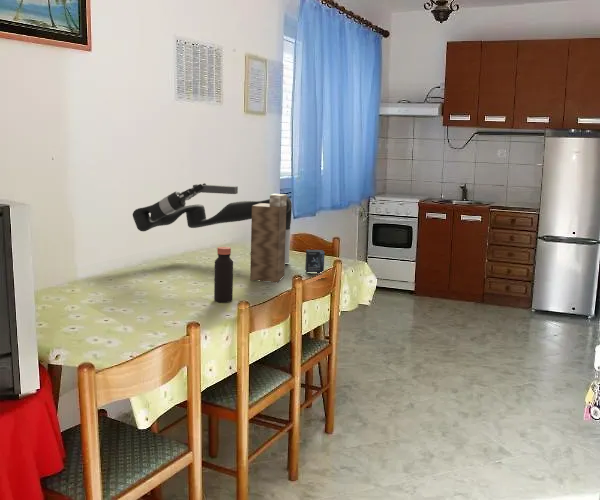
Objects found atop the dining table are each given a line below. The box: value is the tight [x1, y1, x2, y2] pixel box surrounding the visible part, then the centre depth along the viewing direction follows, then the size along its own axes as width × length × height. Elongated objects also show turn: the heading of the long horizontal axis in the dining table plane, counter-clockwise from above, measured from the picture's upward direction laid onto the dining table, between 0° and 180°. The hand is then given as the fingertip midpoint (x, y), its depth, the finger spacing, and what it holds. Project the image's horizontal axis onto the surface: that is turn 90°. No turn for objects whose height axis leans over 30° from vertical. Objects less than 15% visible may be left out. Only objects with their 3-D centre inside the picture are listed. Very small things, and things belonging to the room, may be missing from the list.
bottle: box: [213, 246, 234, 303], centre depth 237 cm, size 7×7×20 cm
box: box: [304, 249, 325, 273], centre depth 291 cm, size 8×6×11 cm
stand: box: [249, 193, 288, 283], centre depth 274 cm, size 12×12×37 cm
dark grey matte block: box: [192, 183, 239, 195], centre depth 276 cm, size 19×4×3 cm, turn 77°
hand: (204, 185), depth 277 cm, fingers closed on dark grey matte block, 4 cm apart
